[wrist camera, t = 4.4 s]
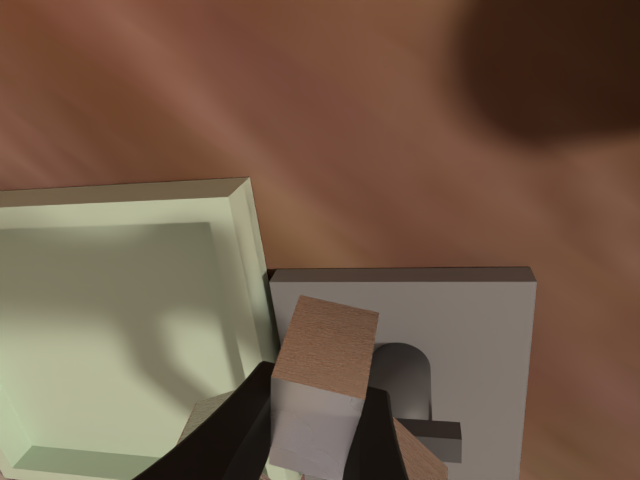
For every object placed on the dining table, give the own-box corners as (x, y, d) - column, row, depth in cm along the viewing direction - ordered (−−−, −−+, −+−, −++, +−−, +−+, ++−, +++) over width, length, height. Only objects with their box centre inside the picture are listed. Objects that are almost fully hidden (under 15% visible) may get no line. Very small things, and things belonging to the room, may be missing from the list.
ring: (409, 531, 19) (404, 601, 17) (209, 476, 20) (185, 536, 18) (522, 345, 11) (537, 442, 9) (171, 266, 12) (120, 339, 10)
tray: (303, 470, 27) (293, 510, 25) (34, 445, 31) (4, 477, 29) (249, 177, 20) (228, 196, 17) (-93, 196, 24) (-146, 214, 22)
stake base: (511, 483, 24) (535, 601, 19) (310, 465, 27) (285, 566, 22) (530, 267, 19) (569, 354, 14) (276, 269, 21) (233, 344, 16)
